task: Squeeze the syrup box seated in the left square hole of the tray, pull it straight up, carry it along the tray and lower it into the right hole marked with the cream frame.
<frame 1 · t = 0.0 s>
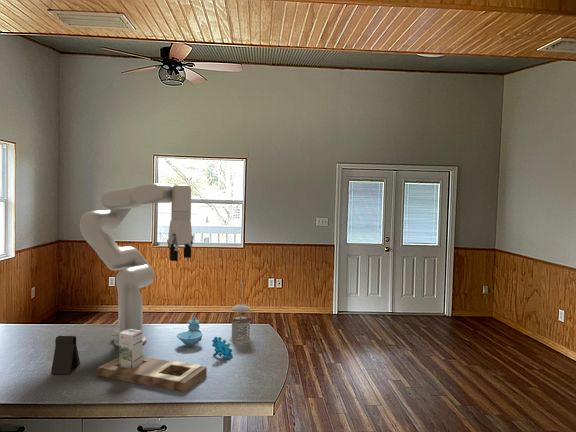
hand: (180, 259, 178), 37 cm above the kitchen counter, tool pointing down, fingers open, 9 cm apart
french press: (242, 339, 195), on the kitchen counter
light blue rounded piece: (191, 343, 190), on the kitchen counter
gear: (222, 357, 174), on the kitchen counter
syrup box: (130, 372, 158), resting in tray
tray: (152, 375, 155), on the kitchen counter
phone stand: (66, 370, 158), on the kitchen counter
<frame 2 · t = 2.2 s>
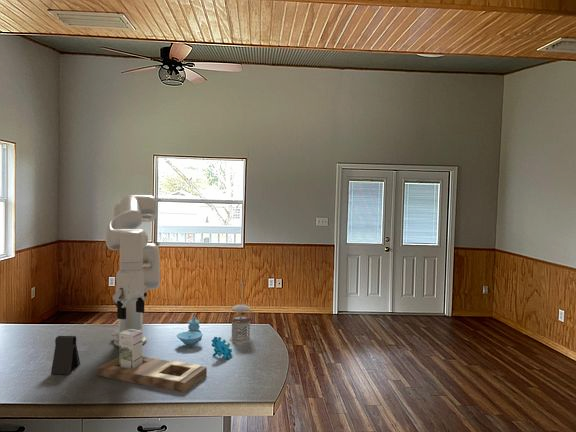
hand: (131, 315, 156), 20 cm above the kitchen counter, tool pointing down, fingers open, 9 cm apart
nothing on the kitchen counter moved.
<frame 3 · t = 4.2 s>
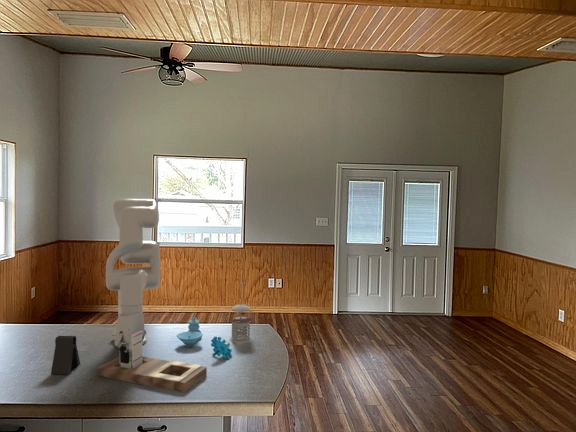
hand: (131, 359, 158), 5 cm above the kitchen counter, tool pointing down, fingers closed on syrup box, 5 cm apart
syrup box: (130, 372, 158), resting in tray, touching gripper
everything else where it was.
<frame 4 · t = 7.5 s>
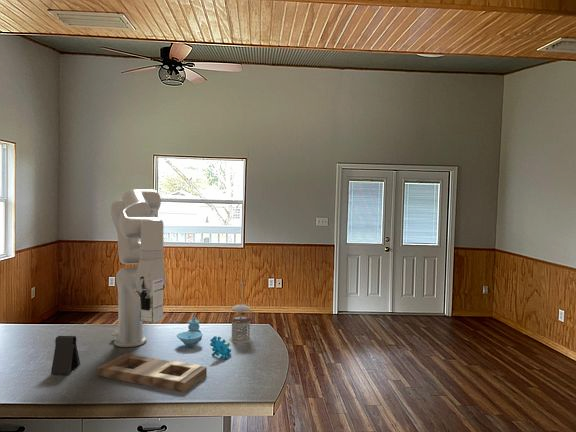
hand: (151, 307, 154), 24 cm above the kitchen counter, tool pointing down, fingers closed on syrup box, 5 cm apart
syrup box: (151, 320, 154), point 19 cm above the kitchen counter, touching gripper
everything else where it was.
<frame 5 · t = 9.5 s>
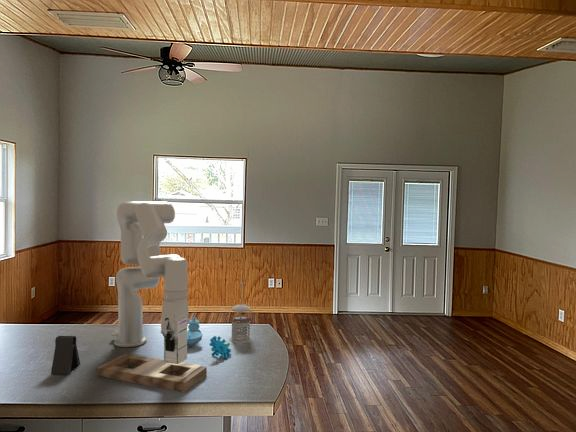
hand: (175, 347, 151), 11 cm above the kitchen counter, tool pointing down, fingers closed on syrup box, 5 cm apart
syrup box: (175, 361, 152), point 6 cm above the kitchen counter, touching gripper
everything else where it was.
when the fingers open (6 cm above the kitchen counter, at t = 11.2 s): syrup box stays where it is, resting in tray.
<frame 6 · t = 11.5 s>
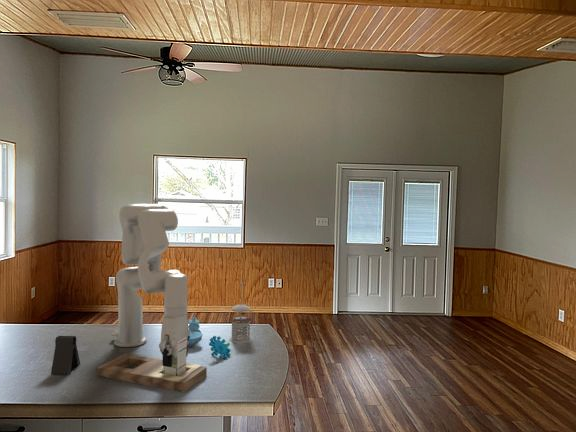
hand: (175, 361, 152), 6 cm above the kitchen counter, tool pointing down, fingers open, 9 cm apart
syrup box: (174, 380, 152), resting in tray
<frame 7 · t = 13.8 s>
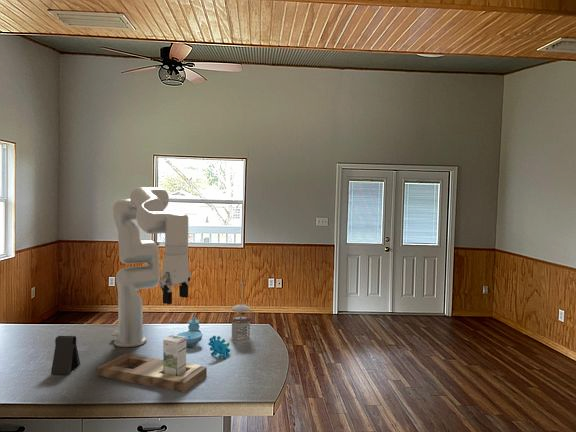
hand: (175, 300, 152), 27 cm above the kitchen counter, tool pointing down, fingers open, 9 cm apart
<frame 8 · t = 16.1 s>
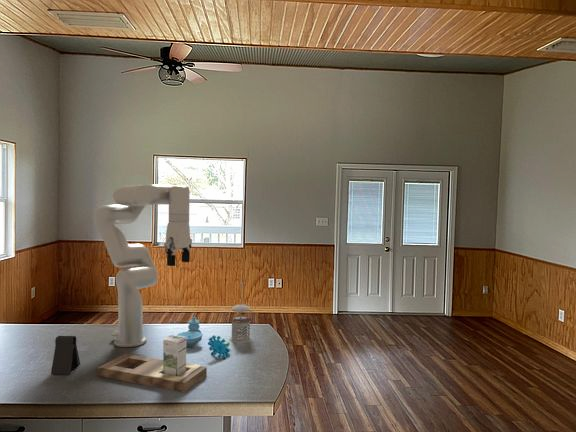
hand: (178, 263, 169), 36 cm above the kitchen counter, tool pointing down, fingers open, 9 cm apart
at the end: syrup box 0.2 cm from the target spot on the tray, point 0.0 cm above the tray's base; syrup box tilted 0°; the gripper is holding nothing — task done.
